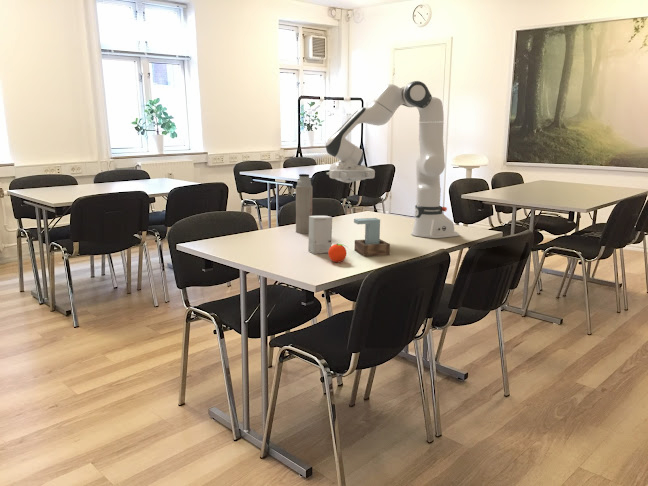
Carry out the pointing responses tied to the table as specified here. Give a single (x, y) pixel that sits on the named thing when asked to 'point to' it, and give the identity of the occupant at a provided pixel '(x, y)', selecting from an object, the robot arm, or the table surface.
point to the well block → (372, 248)
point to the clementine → (337, 252)
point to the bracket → (370, 229)
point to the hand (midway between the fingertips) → (357, 175)
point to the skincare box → (320, 234)
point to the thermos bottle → (303, 203)
